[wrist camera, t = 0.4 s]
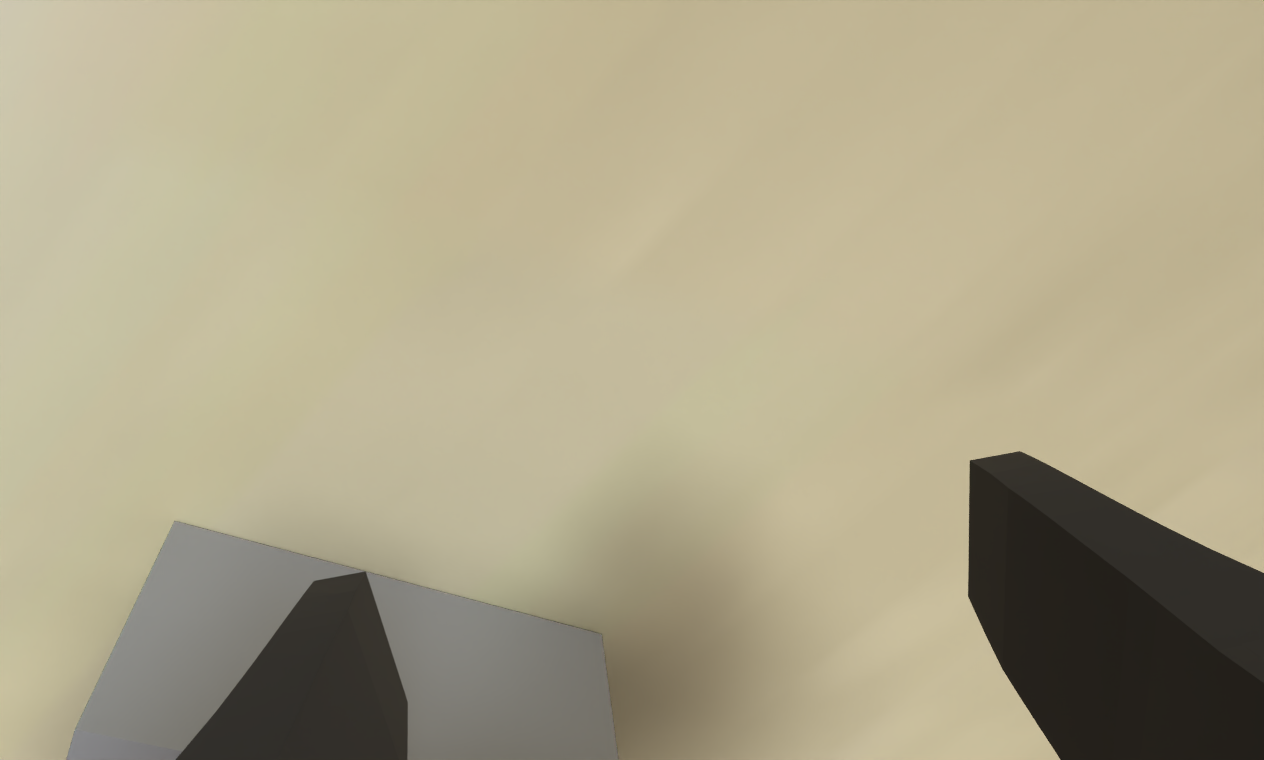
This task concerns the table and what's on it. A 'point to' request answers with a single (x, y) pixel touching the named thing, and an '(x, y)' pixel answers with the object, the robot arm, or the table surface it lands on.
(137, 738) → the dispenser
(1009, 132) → the table surface
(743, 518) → the table surface
